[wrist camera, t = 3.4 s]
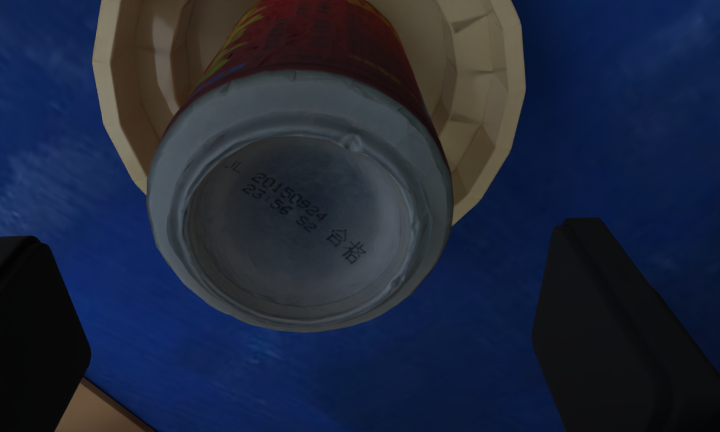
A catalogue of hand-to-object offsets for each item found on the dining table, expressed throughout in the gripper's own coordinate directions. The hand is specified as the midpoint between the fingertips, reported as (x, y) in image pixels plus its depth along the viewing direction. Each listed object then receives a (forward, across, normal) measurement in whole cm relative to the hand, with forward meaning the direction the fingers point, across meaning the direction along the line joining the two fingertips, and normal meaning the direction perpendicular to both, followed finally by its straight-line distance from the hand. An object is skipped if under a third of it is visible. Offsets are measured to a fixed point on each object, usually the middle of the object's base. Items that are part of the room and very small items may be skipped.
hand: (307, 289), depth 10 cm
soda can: (+14, 0, 0) cm, 14 cm away
